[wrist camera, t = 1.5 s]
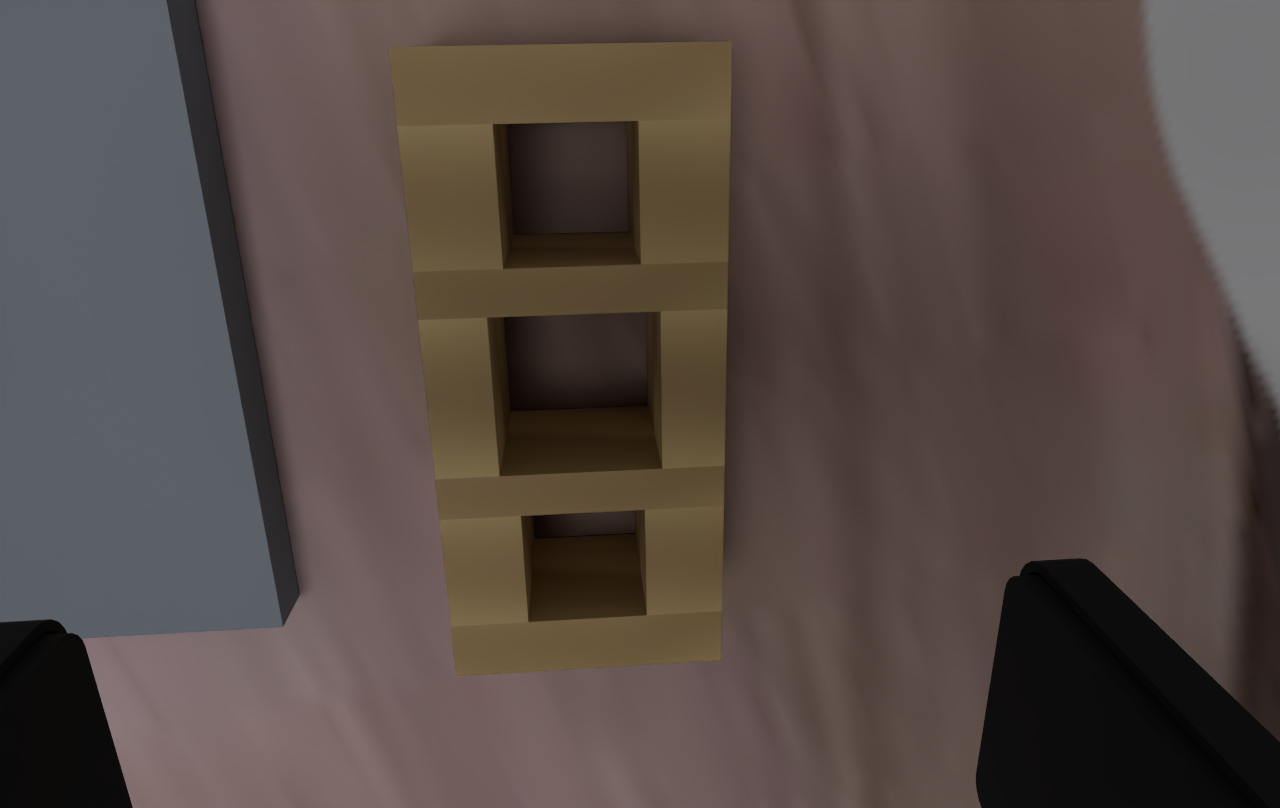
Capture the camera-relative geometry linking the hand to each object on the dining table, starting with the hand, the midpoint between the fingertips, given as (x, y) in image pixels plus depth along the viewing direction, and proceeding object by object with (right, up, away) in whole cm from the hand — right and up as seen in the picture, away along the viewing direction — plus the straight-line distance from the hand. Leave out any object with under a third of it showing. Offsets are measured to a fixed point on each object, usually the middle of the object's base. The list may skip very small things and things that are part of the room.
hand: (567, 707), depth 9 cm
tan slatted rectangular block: (-1, +5, +14) cm, 14 cm away
